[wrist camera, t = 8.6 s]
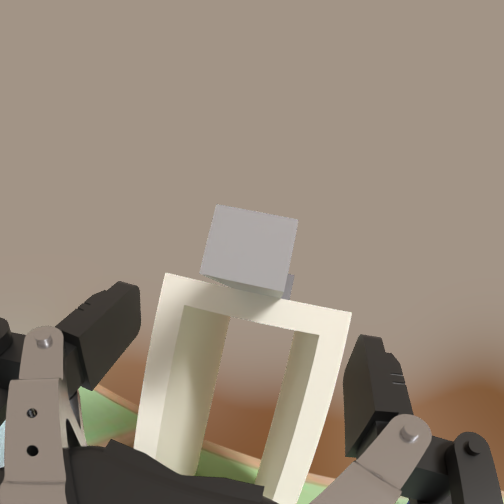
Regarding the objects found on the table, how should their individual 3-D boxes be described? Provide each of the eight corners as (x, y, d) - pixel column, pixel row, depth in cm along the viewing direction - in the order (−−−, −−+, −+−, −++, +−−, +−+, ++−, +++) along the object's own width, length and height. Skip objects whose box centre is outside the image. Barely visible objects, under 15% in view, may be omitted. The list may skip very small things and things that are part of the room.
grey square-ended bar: (314, 298, 12) (331, 203, 13) (171, 266, 13) (195, 178, 14) (286, 304, 48) (292, 279, 48) (248, 296, 48) (253, 271, 49)
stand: (254, 593, 17) (352, 312, 22) (125, 558, 18) (165, 272, 23) (265, 487, 42) (312, 309, 47) (185, 467, 44) (223, 290, 49)
